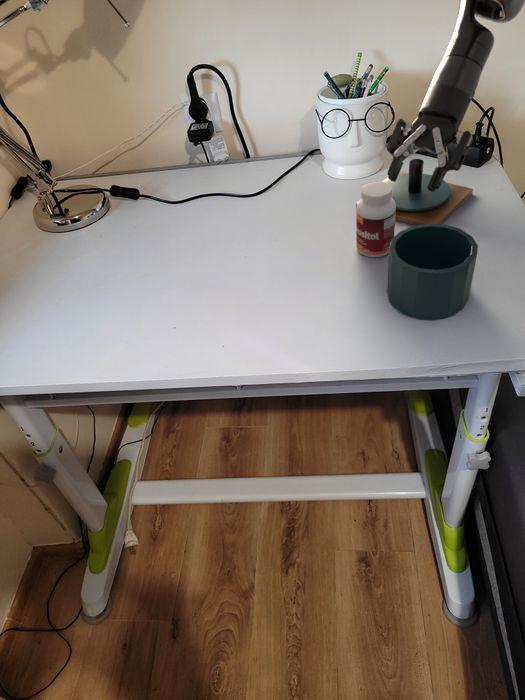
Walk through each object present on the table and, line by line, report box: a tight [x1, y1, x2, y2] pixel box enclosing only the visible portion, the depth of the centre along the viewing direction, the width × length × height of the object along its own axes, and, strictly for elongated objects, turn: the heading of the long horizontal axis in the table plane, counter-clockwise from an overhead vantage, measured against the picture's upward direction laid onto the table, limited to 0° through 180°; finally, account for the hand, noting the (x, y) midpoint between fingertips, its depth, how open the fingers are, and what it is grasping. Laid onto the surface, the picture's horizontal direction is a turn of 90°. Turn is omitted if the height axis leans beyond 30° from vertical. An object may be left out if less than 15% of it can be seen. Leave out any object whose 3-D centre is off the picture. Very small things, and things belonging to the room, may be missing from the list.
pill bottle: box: [355, 180, 396, 258], centre depth 82 cm, size 6×6×11 cm
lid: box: [386, 158, 451, 211], centre depth 91 cm, size 13×13×7 cm
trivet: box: [355, 170, 474, 226], centre depth 94 cm, size 16×14×1 cm
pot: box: [386, 223, 479, 321], centre depth 73 cm, size 12×12×8 cm
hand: (410, 184), depth 91 cm, fingers open, 7 cm apart
